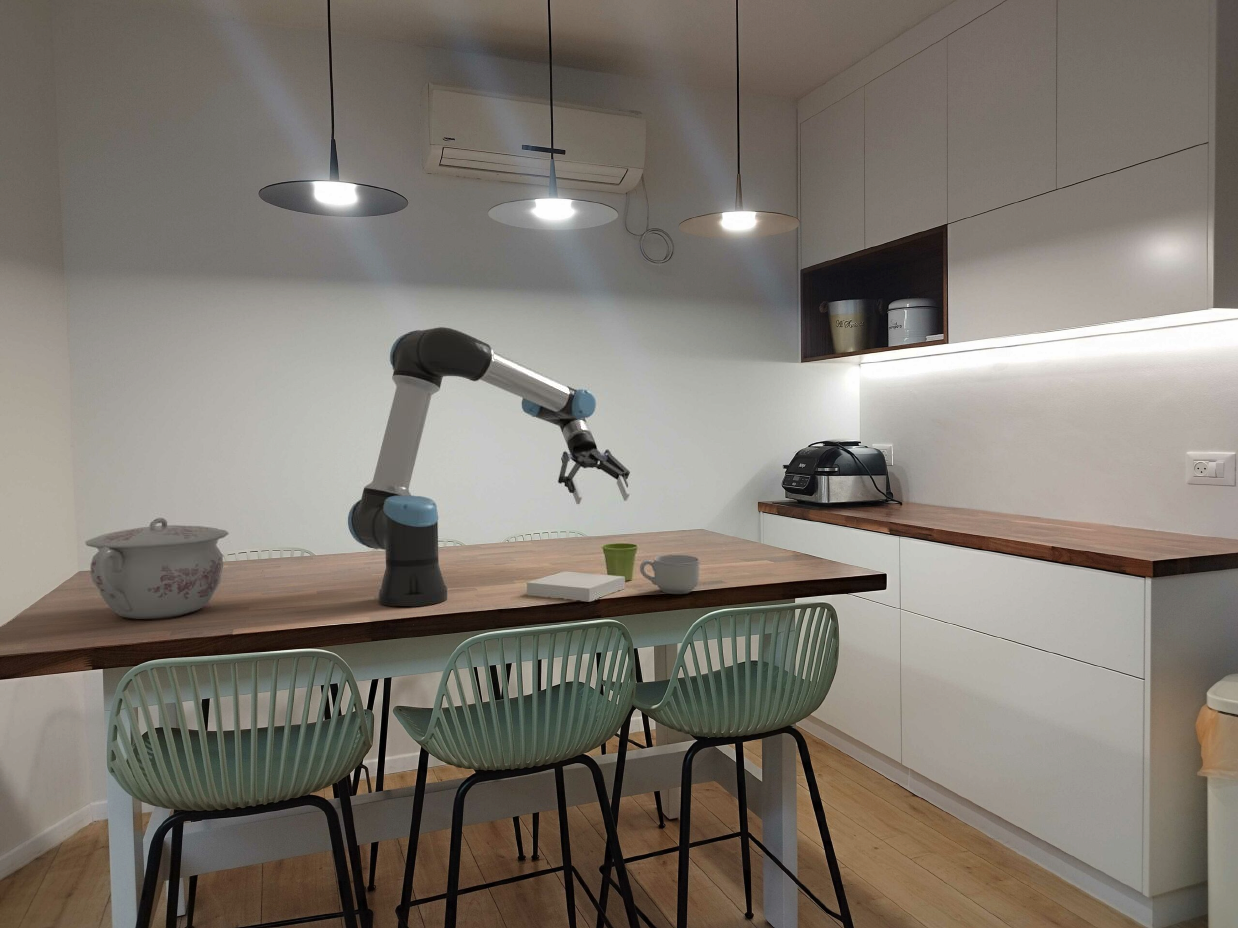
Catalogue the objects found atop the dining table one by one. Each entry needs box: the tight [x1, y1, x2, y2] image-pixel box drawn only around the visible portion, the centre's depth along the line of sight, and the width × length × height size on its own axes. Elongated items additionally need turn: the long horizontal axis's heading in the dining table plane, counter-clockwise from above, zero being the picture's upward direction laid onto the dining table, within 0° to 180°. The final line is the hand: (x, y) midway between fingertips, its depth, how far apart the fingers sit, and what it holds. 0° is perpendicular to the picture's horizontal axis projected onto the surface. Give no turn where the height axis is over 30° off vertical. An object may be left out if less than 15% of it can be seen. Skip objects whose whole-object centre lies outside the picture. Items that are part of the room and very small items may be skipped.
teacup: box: [639, 553, 701, 595], centre depth 202 cm, size 14×11×8 cm
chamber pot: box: [84, 517, 230, 620], centre depth 187 cm, size 28×28×21 cm
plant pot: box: [601, 542, 640, 582], centre depth 218 cm, size 9×9×9 cm
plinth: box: [526, 570, 626, 603], centre depth 203 cm, size 17×16×3 cm
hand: (603, 499), depth 227 cm, fingers open, 13 cm apart
